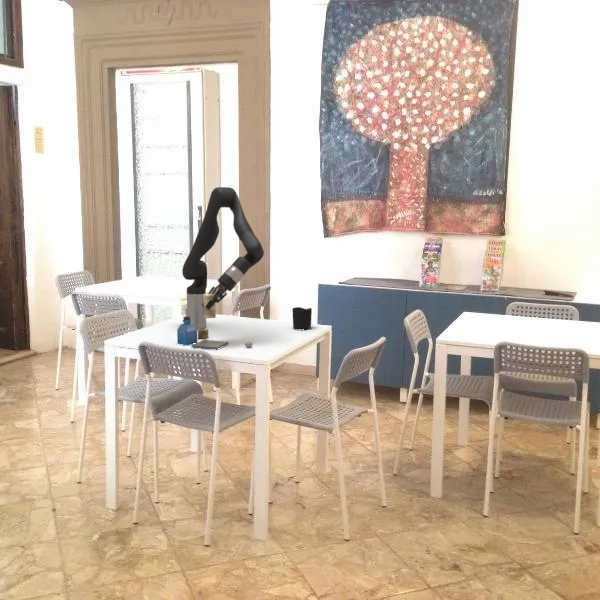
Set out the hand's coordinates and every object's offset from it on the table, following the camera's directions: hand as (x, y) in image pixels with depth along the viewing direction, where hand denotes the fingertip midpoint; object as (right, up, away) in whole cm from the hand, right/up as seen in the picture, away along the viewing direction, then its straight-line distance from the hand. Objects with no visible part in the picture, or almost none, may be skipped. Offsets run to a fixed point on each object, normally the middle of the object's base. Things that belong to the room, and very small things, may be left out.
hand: (205, 307), depth 317 cm
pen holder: (+42, -11, +42) cm, 61 cm away
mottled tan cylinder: (+2, -4, +2) cm, 5 cm away
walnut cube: (-3, -15, +20) cm, 25 cm away
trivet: (+2, -17, +4) cm, 17 cm away
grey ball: (+19, -16, +1) cm, 25 cm away
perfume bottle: (-9, -16, +9) cm, 21 cm away
